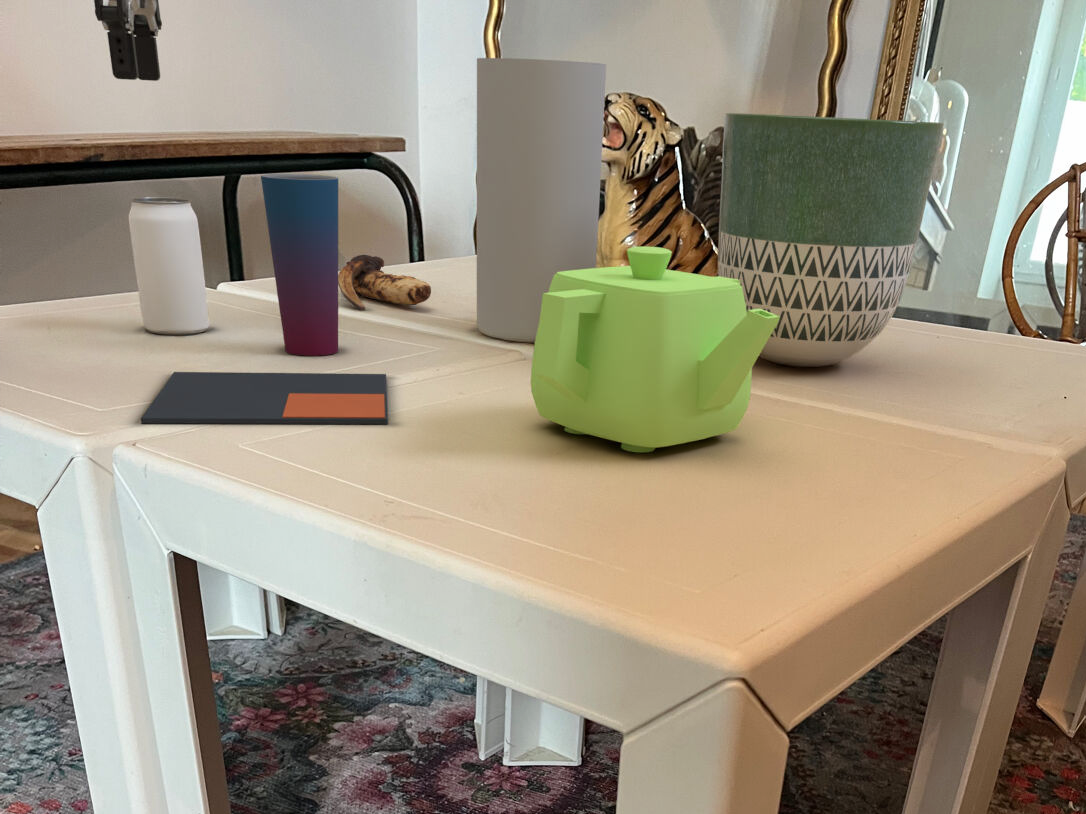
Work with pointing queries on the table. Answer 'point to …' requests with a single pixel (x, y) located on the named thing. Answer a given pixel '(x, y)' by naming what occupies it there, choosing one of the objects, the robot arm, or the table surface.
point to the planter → (822, 225)
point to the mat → (270, 399)
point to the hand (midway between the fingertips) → (138, 79)
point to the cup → (305, 258)
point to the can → (168, 265)
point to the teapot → (646, 352)
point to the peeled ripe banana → (379, 283)
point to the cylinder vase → (534, 184)
